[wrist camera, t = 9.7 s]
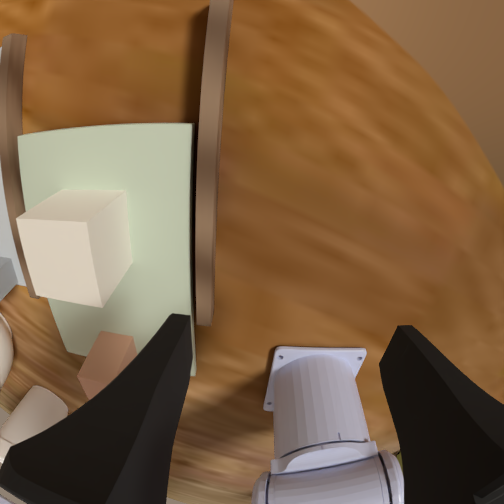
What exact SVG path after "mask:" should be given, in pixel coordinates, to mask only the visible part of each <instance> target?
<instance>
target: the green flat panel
mask: <svg viewBox="0 0 504 504" xmlns="http://www.w3.org/2000/svg"><path fill="white" fill-rule="evenodd" d="M194 135H195V123H134V124H113V125H98V126H86V127H75V128H66V129H58V130H50V131H43V132H36V133H29V134H24V135H20V136H18V152H19V164H20V174H21V182H22V190H23V197H24V203H25V209H26V211H28V210H29V209H31V208H33V207H34V206H36V205H37V204H39V203H40V202H42V201H44V200H45V199H47V198H49V197H50V196H52V195H54V194H55V193H57V192H59V191H60V190H126V192H127V208H128V222H129V233H130V244H131V253H132V262H133V263H132V264H131V266H130V267H129V269H128V270H127V272H126V273H125V275H124V276H123V278H122V279H121V281H120V282H119V284H118V285H117V287H116V288H115V290H114V291H113V293H112V294H111V296H110V298H109V299H108V301H107V302H106V304H105V305H104V307H103V308H100V307H94V306H88V305H83V304H77V303H72V302H67V301H62V300H57V299H52V298H47V299H48V302H49V305H50V308H51V310H52V313H53V316H54V319H55V322H56V324H57V327H58V330H59V332H60V335H61V337H62V340H63V342H64V345H65V347H66V350H67V352H71V353H74V354H78V355H82V356H86V359H85V361H84V363H83V365H82V367H81V369H80V371H79V373H78V375H77V378H78V380H79V382H80V384H81V386H82V388H83V390H84V392H85V394H86V396H87V397H88V399H89V400H90V399H92V398H93V397H94V396H95V395H97V394H98V393H99V392H100V391H101V390H102V389H104V388H105V387H106V386H107V385H108V384H109V383H110V382H111V381H112V380H113V379H115V378H116V377H117V376H118V375H119V374H120V373H121V372H122V371H123V369H124V368H125V367H126V366H127V365H128V364H129V363H130V362H131V361H132V360H133V359H134V358H135V357H136V356H137V355H138V354H139V352H140V351H141V350H142V349H143V348H144V347H145V345H146V344H147V343H148V342H149V341H150V340H151V338H152V337H153V336H154V335H155V333H156V332H157V331H158V330H159V328H160V327H161V326H162V324H163V323H164V322H165V320H166V319H167V318H168V316H169V315H170V314H172V313H176V314H184V315H190V316H191V334H192V350H193V360H192V367H191V374H190V376H195V374H196V355H195V336H194V313H193V277H192V193H193V158H194Z"/></svg>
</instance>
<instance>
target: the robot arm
mask: <svg viewBox="0 0 504 504" xmlns="http://www.w3.org/2000/svg"><path fill="white" fill-rule="evenodd" d="M366 354H367V352H366V349H365V348H314V347H287V346H279V347H277V348H276V349H275V352H274V357H273V362H272V367H271V372H270V377H269V381H268V386H267V391H266V396H265V400H264V405H263V409H264V410H265V411H273V419H274V456H275V459H273V460H271V471H268V472H263V473H262V474H261V475H260V477H259V478H258V479H257V480H256V482H255V484H254V487H253V492H252V504H504V405H503V404H502V403H500V402H499V401H497V400H496V399H494V398H493V397H492V396H490V395H489V394H488V393H486V392H485V391H484V390H482V389H481V388H480V387H478V386H477V385H476V384H475V383H474V382H472V381H471V380H470V379H469V378H468V377H467V376H466V375H464V374H463V373H462V372H461V371H460V370H459V369H458V368H457V367H456V366H455V365H454V364H452V363H451V362H450V361H449V360H448V359H447V358H446V357H445V356H444V355H443V354H442V353H441V352H440V351H439V350H438V349H437V348H436V347H435V346H434V345H433V344H432V343H431V342H430V341H429V340H428V339H427V338H425V337H424V336H423V335H422V334H421V333H420V332H419V331H418V330H417V329H415V328H414V327H413V326H412V325H402V326H397V329H396V331H395V333H394V335H393V337H392V339H391V341H390V343H389V345H388V347H387V349H386V351H385V353H384V355H383V357H382V359H381V361H380V363H379V367H380V373H381V379H382V384H383V389H384V392H385V396H386V399H387V402H388V405H389V409H390V412H391V415H392V418H393V422H394V425H395V429H396V432H397V436H398V440H399V444H400V450H401V458H402V466H403V474H402V470H401V467H400V464H399V462H398V460H397V458H396V457H395V456H394V455H393V454H391V453H389V452H388V451H387V450H382V451H377V446H376V442H375V441H370V437H369V433H368V429H367V425H366V421H365V417H364V413H363V409H362V405H361V401H360V397H359V393H358V389H357V386H356V382H355V377H356V375H357V373H358V371H359V369H360V367H361V365H362V363H363V361H364V359H365V356H366ZM280 355H281V356H280ZM192 360H193V350H192V334H191V316H190V315H184V314H176V313H172V314H170V315H169V316H168V318H167V319H166V320H165V322H164V323H163V324H162V326H161V327H160V328H159V330H158V331H157V332H156V333H155V335H154V336H153V337H152V338H151V340H150V341H149V342H148V343H147V344H146V345H145V347H144V348H143V349H142V350H141V351H140V352H139V354H138V355H137V356H136V357H135V358H134V359H133V360H132V361H131V362H130V363H129V364H128V365H127V366H126V367H125V368H124V369H123V371H122V372H121V373H120V374H119V375H118V376H117V377H116V378H115V379H113V380H112V381H111V382H110V383H109V384H108V385H107V386H106V387H105V388H104V389H102V390H101V391H100V392H99V393H98V394H97V395H95V396H94V397H93V398H92V399H90V400H89V401H88V402H86V403H85V404H84V405H83V406H81V407H80V408H79V409H77V410H76V411H74V412H73V413H72V414H70V415H69V416H67V417H66V418H64V419H62V420H61V421H59V422H57V423H56V424H54V425H53V426H51V427H49V428H48V429H46V430H44V431H42V432H40V433H39V434H37V435H34V436H32V437H30V438H28V439H26V440H24V441H22V442H20V443H18V444H15V445H13V446H11V447H10V448H9V450H8V452H7V454H6V456H5V459H4V461H3V464H2V466H1V469H0V487H2V488H3V489H4V490H6V491H7V492H9V493H11V494H12V495H14V496H15V497H17V498H19V499H20V500H22V501H24V502H26V503H27V504H166V497H167V487H168V478H169V469H170V462H171V454H172V447H173V443H174V438H175V434H176V430H177V426H178V422H179V419H180V415H181V411H182V408H183V404H184V400H185V396H186V393H187V389H188V385H189V380H190V374H191V367H192ZM0 504H15V503H13V502H12V501H10V500H9V499H7V498H5V497H4V496H2V495H1V494H0Z"/></svg>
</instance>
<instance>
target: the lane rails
mask: <svg viewBox="0 0 504 504" xmlns="http://www.w3.org/2000/svg"><path fill="white" fill-rule="evenodd" d="M232 9H233V0H210V6H209V14H208V23H207V32H206V41H205V51H204V62H203V73H202V86H201V99H200V114H199V132H198V152H197V179H196V234H195V261H196V315H197V325H203V326H211V323H212V318H213V313H214V282H215V247H216V221H217V198H218V179H219V161H220V145H221V130H222V116H223V103H224V91H225V79H226V68H227V57H228V46H229V36H230V27H231V18H232ZM26 40H27V35H22V34H10V35H7V36H5V37H3V42H2V47H1V48H0V163H1V172H2V180H3V187H4V194H5V200H6V206H7V211H8V217H9V222H10V226H11V231H12V235H13V240H14V244H15V248H16V252H17V255H18V259H19V263H20V266H21V270H22V273H23V276H24V280H25V283H26V286H27V289H28V292H29V295H30V297H32V298H36V299H39V298H40V296H38V295H36V293H35V290H34V287H33V284H32V281H31V277H30V274H29V270H28V267H27V263H26V260H25V256H24V252H23V248H22V244H21V240H20V235H19V231H18V226H17V221H16V218H17V217H19V216H20V215H22V214H23V213H25V212H26V209H25V203H24V197H23V190H22V182H21V174H20V164H19V152H18V136H20V135H22V86H23V69H24V58H25V48H26Z"/></svg>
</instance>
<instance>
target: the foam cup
mask: <svg viewBox="0 0 504 504" xmlns="http://www.w3.org/2000/svg"><path fill="white" fill-rule="evenodd" d="M67 413H68V408H67V405H66V404H65V403H64V402H63V401H62V400H61V399H60V398H59V397H58V396H56V395H55V394H54V393H52V392H51V391H49V390H47V389H46V388H43V387H41V386H38V385H36V386H32V388H31V389H30V390H29V391H28V392H27V394H26V395H25V396H24V398H23V399H22V400H21V401H20V403H19V404H18V405H17V407H16V408H15V409H14V411H13V412H12V413H11V415H10V416H9V418H8V419H7V420H6V422H5V423H4V425H3V426H2V427H1V429H0V462H1V463H2V464H3V461H4V459H5V456H6V454H7V452H8V450H9V448H10V447H11V446H13V445H15V444H18V443H20V442H22V441H24V440H26V439H28V438H30V437H32V436H34V435H37V434H39V433H40V432H42V431H44V430H46V429H48V428H49V427H51V426H53V425H54V424H56V423H57V422H59V421H61V420H62V419H64V418H66V417H67Z"/></svg>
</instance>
